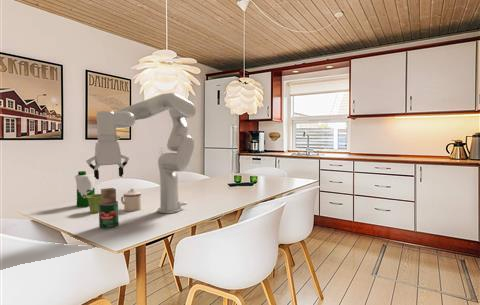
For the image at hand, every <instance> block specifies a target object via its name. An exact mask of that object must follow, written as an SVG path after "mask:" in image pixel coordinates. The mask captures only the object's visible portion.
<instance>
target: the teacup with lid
mask: <svg viewBox="0 0 480 305" xmlns="http://www.w3.org/2000/svg"><path fill="white" fill-rule="evenodd" d="M120 202H121V204H122V205H124V206H123V207H124V211H126V212H136V211H137V212H138V211H139V210H142V209H141V208H142V192H141V191H138V190H135V188H130V189H129V191H126V192H125V193H123V196H121V198H120Z"/></svg>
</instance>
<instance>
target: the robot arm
mask: <svg viewBox="0 0 480 305" xmlns="http://www.w3.org/2000/svg"><path fill="white" fill-rule="evenodd" d="M165 111H168V114H169V117H170V118H171V121H172V129H171V131H170V135H169V137H168V139H167V143H166V147H167V150H168V151H170V152H165V153H162V154H161V155H160V156H159V157H158V159H157V166H158V170H159V192H160V193H159V194H160V195H159V196H160V198H159V199H160V204H159V208H157V212H158V213H159V214H173V213H174V214H175V213H179V212H180V211H181V210H182V206H187V201H179V177H178V176H179V175H178V173H177V172H184V171H185V170H187V168H188V166H189V165H190V161H191V159H192V154H193V152H194V149H195V141H194V138H193V137H192V136H190V135H188V130H189V126H188V123H187V121H186V119H190V118H191V119H192V118H193V117H194V116H195V115H196V112H197V110H196V106H195V105H194V103H193V102H191V101H190V100H188V99H186V98H184V97H183V96H181V95H179V94H177V93H175V92H169V93H161V94H159V95H155V96H152V97H150V98H147V99H145V100H142V101H140V102H136V103H134V104H132V105H128V106H124V107H122V108H119V109H116V110H114V111H113V110H100V111H97V112H96V128H97V142H95V147H94V156H92V157H90V158H88V159H86V161H85V162H86V164H87V165H88V166H89V167H90V168H91V169H92V170H93V175H94V177H95V179H96V180H99V179H100V170H99V167H101V166H113V165H118V166H119V167H118V176H119V177H120V178H122V177H123V175H124V168H125V166H126V165H127V164H128V162H129V159H130V158H129V157H128V156H127V155H126V156H125V155H123V154H121V153H122V152H121V149H120V148H121V146H120V144H119V141H118V140H121V137H120V136H118V134H117V129H125V128H127V129H128V128H130V127H133V125H134V124H135V123H136V121H139V120H144V119H150V118H152V117H154V116H156V115H158V114H161V113H163V112H165ZM122 159H124V161H123V162H122ZM93 161H94V164H95V165H93V163H92V162H93Z"/></svg>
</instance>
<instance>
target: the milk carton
mask: <svg viewBox="0 0 480 305" xmlns="http://www.w3.org/2000/svg"><path fill="white" fill-rule="evenodd" d="M74 178H75V182H76V183H75V184H76V207H81V208H88V207H89V202H88V200H87V198H86V196H89V195H94V194H96V193H95V189H96V188H95V181H96V180H95V179H96V177H94V174H92V173H91V174H90V173H88V174H87V171H86V170H83V171H82V170H81V171H78V172H77V174H76V175H74ZM89 208H90V207H89Z"/></svg>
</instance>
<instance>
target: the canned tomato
mask: <svg viewBox="0 0 480 305" xmlns="http://www.w3.org/2000/svg"><path fill="white" fill-rule="evenodd" d="M98 225H99V226H98V228H99V230H103V231H104V230H105V231H108V230H113V229H116V228H119V226H120V224H119V202H118V200H116V203H111V204H103V203H101V202H100V203H99V212H98Z"/></svg>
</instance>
